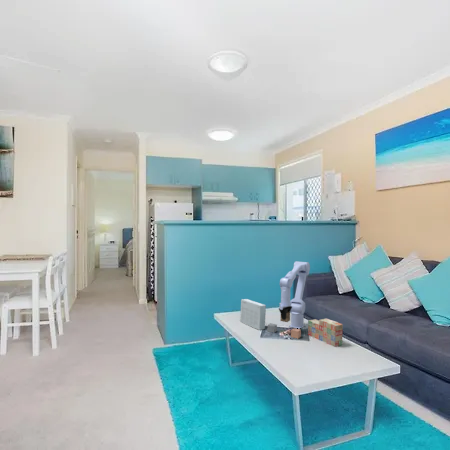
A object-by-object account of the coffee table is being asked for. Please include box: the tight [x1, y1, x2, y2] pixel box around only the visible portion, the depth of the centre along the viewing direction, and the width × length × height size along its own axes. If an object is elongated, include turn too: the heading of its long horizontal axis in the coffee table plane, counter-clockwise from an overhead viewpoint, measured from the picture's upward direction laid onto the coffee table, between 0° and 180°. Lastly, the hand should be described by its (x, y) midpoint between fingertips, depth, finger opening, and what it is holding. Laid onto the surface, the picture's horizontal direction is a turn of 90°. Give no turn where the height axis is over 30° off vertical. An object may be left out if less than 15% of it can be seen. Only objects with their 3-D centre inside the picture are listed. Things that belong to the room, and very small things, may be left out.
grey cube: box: [266, 323, 278, 334], centre depth 203 cm, size 4×4×4 cm
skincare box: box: [239, 298, 267, 331], centre depth 215 cm, size 21×5×16 cm, turn 34°
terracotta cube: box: [290, 327, 302, 340], centre depth 194 cm, size 4×4×4 cm
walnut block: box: [280, 311, 291, 323], centre depth 200 cm, size 4×4×6 cm
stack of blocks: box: [307, 318, 344, 347], centre depth 190 cm, size 21×6×12 cm, turn 30°
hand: (285, 318), depth 200 cm, fingers closed on walnut block, 4 cm apart
